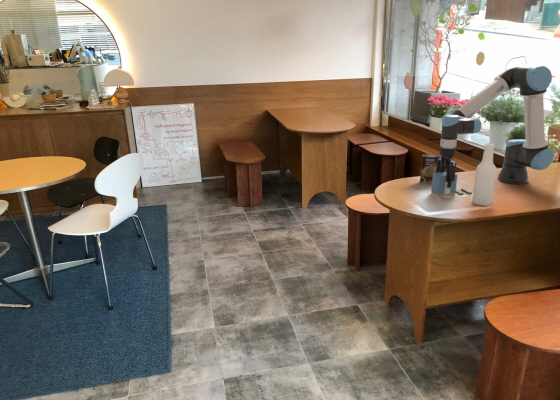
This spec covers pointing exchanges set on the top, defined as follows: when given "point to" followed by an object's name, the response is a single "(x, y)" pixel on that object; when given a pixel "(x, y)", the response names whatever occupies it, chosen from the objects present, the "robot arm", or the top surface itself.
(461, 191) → the board
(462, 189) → the graphite chip
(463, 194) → the graphite chip
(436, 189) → the block
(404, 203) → the top surface
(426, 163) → the coffee box
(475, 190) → the alcohol
